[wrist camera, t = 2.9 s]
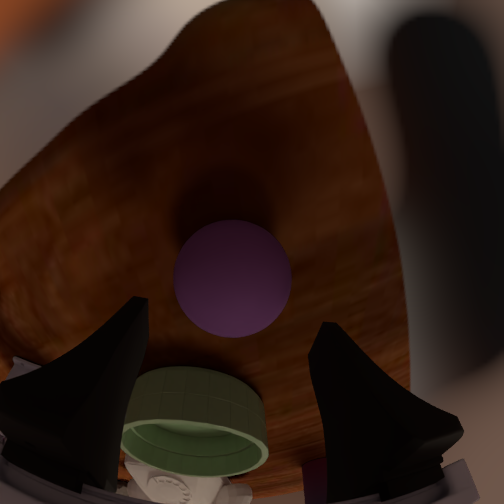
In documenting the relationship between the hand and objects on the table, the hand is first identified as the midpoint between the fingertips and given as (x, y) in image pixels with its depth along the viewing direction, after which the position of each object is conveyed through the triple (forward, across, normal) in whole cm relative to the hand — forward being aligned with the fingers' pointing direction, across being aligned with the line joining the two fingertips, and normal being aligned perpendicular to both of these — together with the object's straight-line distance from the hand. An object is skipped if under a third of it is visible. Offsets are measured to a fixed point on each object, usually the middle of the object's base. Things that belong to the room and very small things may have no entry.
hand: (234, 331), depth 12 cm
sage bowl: (+7, +1, +17) cm, 18 cm away
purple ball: (+4, 0, 0) cm, 4 cm away
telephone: (+7, +2, +38) cm, 38 cm away
